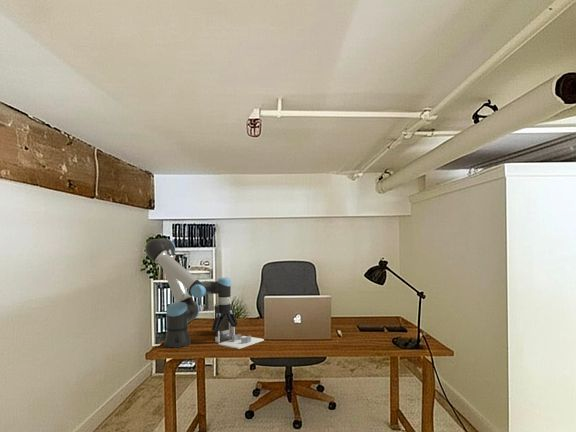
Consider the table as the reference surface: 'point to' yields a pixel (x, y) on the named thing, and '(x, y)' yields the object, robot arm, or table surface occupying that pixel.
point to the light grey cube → (225, 335)
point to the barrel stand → (240, 341)
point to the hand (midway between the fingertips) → (225, 339)
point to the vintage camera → (225, 323)
